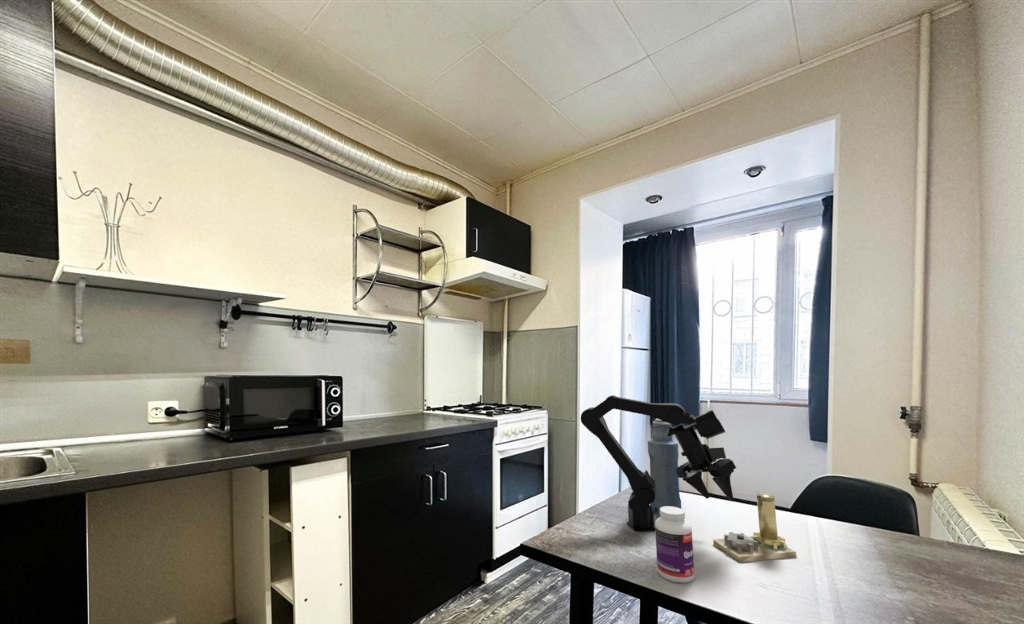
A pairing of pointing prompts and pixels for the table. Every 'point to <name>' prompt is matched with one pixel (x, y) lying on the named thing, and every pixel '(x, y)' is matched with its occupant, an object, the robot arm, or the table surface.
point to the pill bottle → (674, 545)
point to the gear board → (750, 548)
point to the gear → (767, 523)
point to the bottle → (664, 467)
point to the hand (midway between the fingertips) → (719, 498)
